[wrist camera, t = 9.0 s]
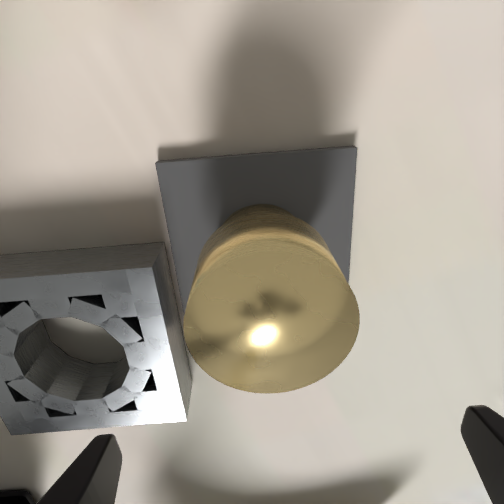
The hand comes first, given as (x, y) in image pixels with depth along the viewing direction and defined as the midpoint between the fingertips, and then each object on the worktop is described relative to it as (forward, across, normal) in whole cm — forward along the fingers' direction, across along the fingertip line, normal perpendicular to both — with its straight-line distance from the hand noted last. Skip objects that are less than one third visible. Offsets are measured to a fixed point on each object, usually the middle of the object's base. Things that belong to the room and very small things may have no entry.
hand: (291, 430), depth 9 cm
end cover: (+11, 0, 0) cm, 11 cm away
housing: (+12, +11, +5) cm, 17 cm away
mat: (+12, 0, 0) cm, 12 cm away
